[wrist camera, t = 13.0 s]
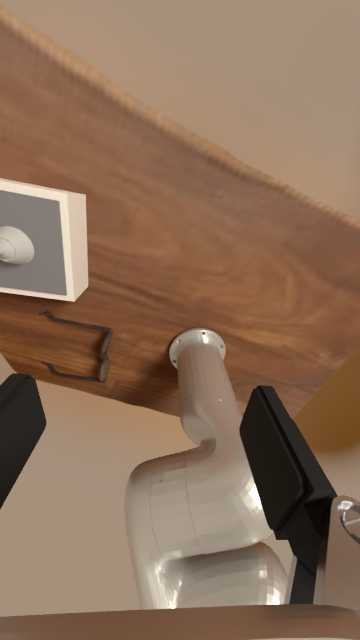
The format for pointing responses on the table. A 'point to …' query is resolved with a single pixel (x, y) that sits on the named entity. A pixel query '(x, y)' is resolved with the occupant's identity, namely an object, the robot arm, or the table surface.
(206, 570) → the robot arm
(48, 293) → the display plinth
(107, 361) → the eyeglasses
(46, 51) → the table surface
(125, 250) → the table surface
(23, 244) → the chalice
